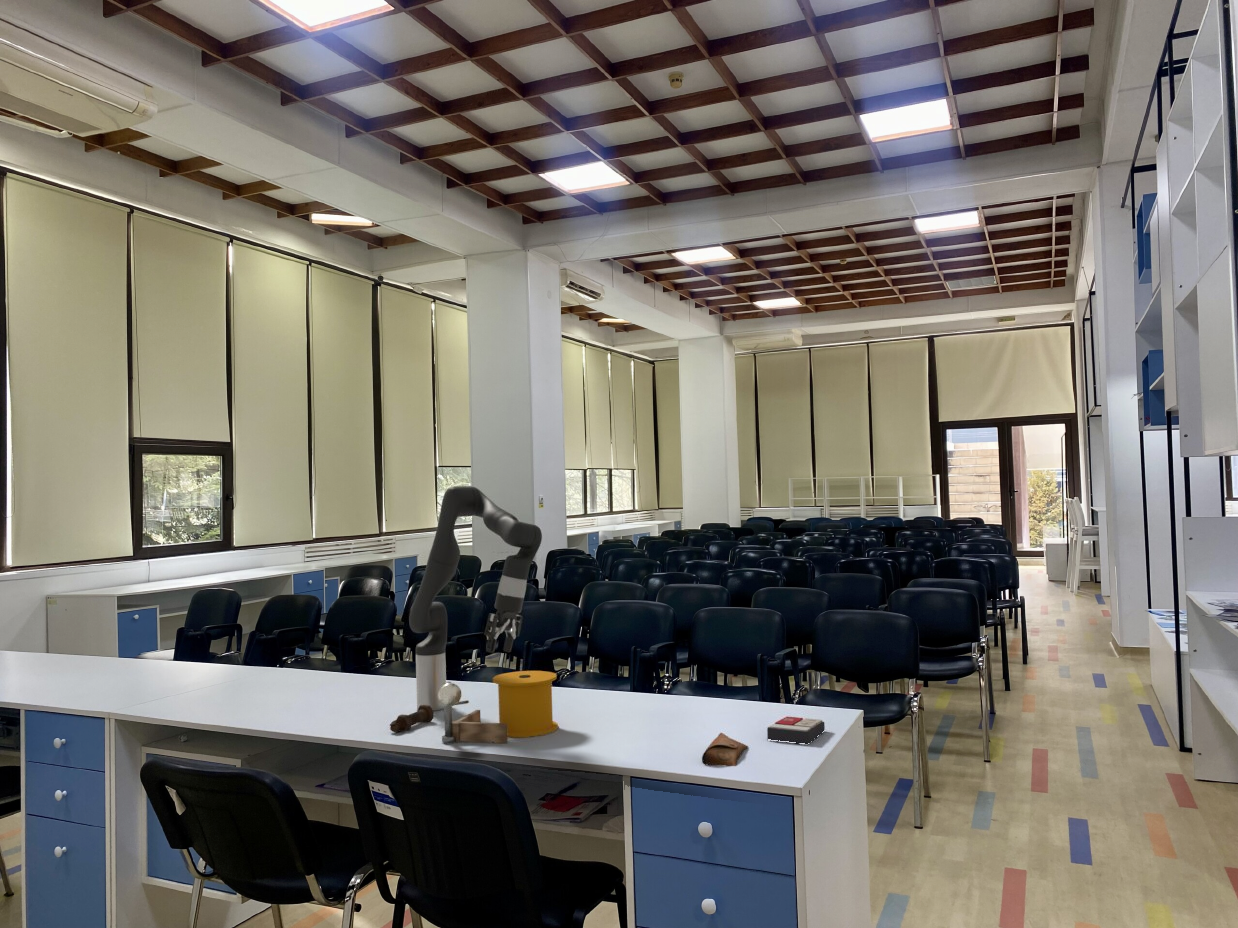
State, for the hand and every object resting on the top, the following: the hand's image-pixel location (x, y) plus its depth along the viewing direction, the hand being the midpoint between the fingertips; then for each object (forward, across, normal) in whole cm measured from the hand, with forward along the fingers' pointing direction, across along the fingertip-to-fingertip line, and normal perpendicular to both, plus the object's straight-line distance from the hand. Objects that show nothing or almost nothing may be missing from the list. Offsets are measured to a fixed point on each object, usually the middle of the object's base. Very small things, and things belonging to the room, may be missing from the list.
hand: (498, 651), depth 246 cm
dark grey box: (+5, -29, +78) cm, 83 cm away
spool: (+21, -13, +6) cm, 26 cm away
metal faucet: (+25, +4, -5) cm, 26 cm away
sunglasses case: (+11, -7, +67) cm, 68 cm away
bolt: (+29, -5, -27) cm, 40 cm away
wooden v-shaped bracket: (+24, 0, -2) cm, 24 cm away
